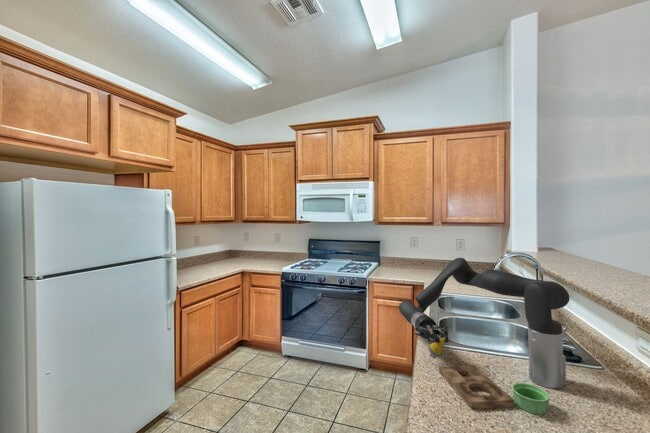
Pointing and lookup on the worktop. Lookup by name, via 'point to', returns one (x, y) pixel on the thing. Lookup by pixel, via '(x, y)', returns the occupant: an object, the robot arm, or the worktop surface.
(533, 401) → the ramekin
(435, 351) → the drill bit
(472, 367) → the socket board
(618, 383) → the worktop surface
